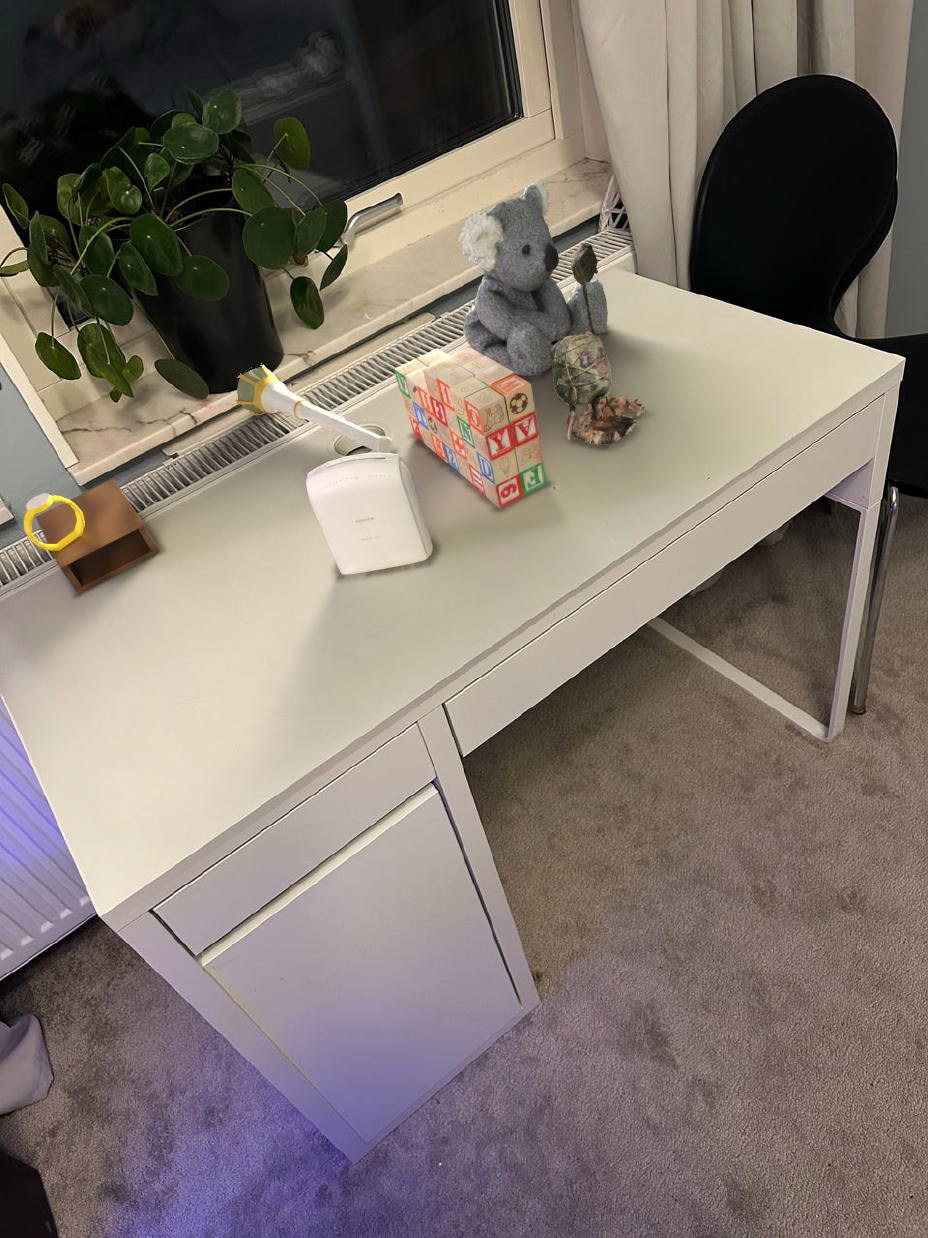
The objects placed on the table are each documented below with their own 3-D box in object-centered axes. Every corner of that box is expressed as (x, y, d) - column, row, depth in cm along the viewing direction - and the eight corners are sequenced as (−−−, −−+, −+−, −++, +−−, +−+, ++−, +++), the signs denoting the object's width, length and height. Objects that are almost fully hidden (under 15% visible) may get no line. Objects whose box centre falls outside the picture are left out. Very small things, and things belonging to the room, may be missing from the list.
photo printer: (336, 580, 87) (295, 481, 79) (340, 554, 90) (301, 456, 82) (433, 564, 85) (401, 461, 77) (434, 538, 89) (404, 437, 80)
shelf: (78, 594, 95) (57, 564, 92) (55, 545, 104) (35, 516, 101) (160, 551, 98) (141, 521, 95) (130, 507, 107) (113, 478, 104)
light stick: (357, 439, 98) (215, 374, 115) (371, 483, 102) (232, 415, 119) (400, 409, 101) (256, 351, 118) (411, 454, 106) (271, 391, 122)
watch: (86, 524, 97) (58, 481, 93) (96, 531, 95) (68, 488, 91) (39, 553, 95) (9, 511, 91) (49, 561, 93) (18, 518, 89)
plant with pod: (541, 438, 98) (511, 268, 85) (617, 397, 101) (599, 226, 88) (584, 464, 93) (559, 285, 79) (663, 419, 96) (652, 240, 82)
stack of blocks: (412, 436, 105) (385, 343, 97) (455, 415, 106) (432, 322, 98) (500, 509, 90) (477, 407, 81) (549, 484, 91) (531, 381, 83)
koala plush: (536, 386, 107) (510, 229, 94) (440, 361, 118) (404, 217, 105) (618, 325, 115) (605, 171, 101) (520, 307, 126) (496, 166, 112)
